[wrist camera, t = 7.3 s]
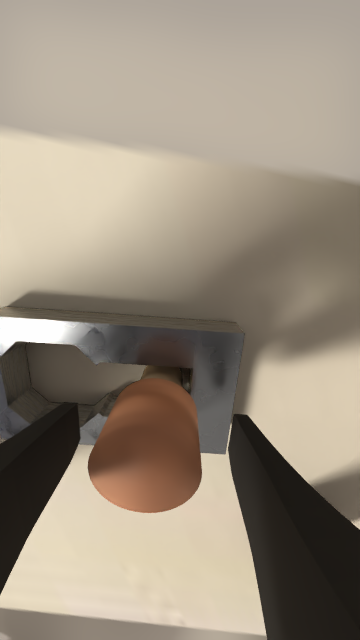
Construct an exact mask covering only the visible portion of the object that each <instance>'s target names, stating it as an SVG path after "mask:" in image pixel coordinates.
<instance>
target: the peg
mask: <svg viewBox="0 0 360 640" xmlns="http://www.w3.org/2000/svg"><path fill="white" fill-rule="evenodd" d="M88 472H89V476H90V479H91V481H92V483H93V485H94V487H95V488H96V490H97V491H98V492H99V493H100V494H101V495H102V496H103V497H104V498H106V499H107V500H108V501H110V502H111V503H113V504H115V505H117V506H119V507H121V508H124V509H127V510H131V511H135V512H142V513H156V512H163V511H167V510H171V509H173V508H176V507H178V506H180V505H182V504H183V503H185V502H186V501H187V500H189V499H190V498H191V497H192V496H193V495H194V494H195V492H196V491H197V489H198V487H199V485H200V482H201V477H202V468H201V455H200V443H199V430H198V418H197V409H196V405H195V402H194V400H193V399H192V397H191V396H190V394H189V393H188V392H187V391H186V390H185V389H184V388H182V373H181V371H180V369H179V368H178V367H167V366H153V365H147V367H146V368H145V370H144V372H143V375H142V378H141V380H139V381H136V382H134V383H132V384H130V385H129V386H127V387H126V388H125V389H124V390H123V391H122V392H121V393H120V394H119V396H118V398H117V400H116V402H115V404H114V406H113V408H112V410H111V412H110V414H109V416H108V418H107V420H106V422H105V424H104V426H103V429H102V431H101V433H100V435H99V437H98V439H97V441H96V443H95V445H94V447H93V449H92V451H91V454H90V456H89V461H88Z"/></svg>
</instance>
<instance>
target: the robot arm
mask: <svg viewBox="0 0 360 640" xmlns="http://www.w3.org/2000/svg"><path fill="white" fill-rule="evenodd" d="M80 439H81V437H80V425H79V413H78V403H68V402H64V403H63V404H61V405H59V406H58V407H56V408H55V409H53V410H52V411H50V412H49V413H47V414H46V415H44V416H43V417H41V418H40V419H38V420H37V421H35V422H34V423H32V424H31V425H29V426H28V427H26V428H25V429H23V430H22V431H20V432H19V433H17V434H16V435H14V436H13V437H11V438H9V439H8V440H6V441H5V442H3V443H1V444H0V594H1V592H2V590H3V588H4V586H5V584H6V581H7V579H8V577H9V575H10V573H11V571H12V569H13V567H14V565H15V563H16V561H17V559H18V557H19V554H20V552H21V550H22V548H23V546H24V544H25V542H26V540H27V538H28V536H29V535H30V533H31V531H32V529H33V527H34V525H35V523H36V522H37V520H38V518H39V517H40V515H41V513H42V511H43V510H44V508H45V506H46V504H47V503H48V501H49V499H50V497H51V496H52V494H53V492H54V491H55V489H56V487H57V485H58V484H59V482H60V480H61V478H62V477H63V475H64V473H65V471H66V470H67V468H68V466H69V464H70V462H71V460H72V458H73V456H74V453H75V451H76V449H77V446H78V444H79V442H80ZM228 452H229V459H230V465H231V472H232V477H233V481H234V485H235V489H236V492H237V496H238V500H239V504H240V508H241V512H242V516H243V519H244V523H245V527H246V531H247V535H248V539H249V543H250V547H251V552H252V556H253V561H254V567H255V572H256V578H257V583H258V588H259V594H260V600H261V605H262V611H263V617H264V623H265V628H266V634H267V640H360V530H359V529H358V528H357V527H356V526H355V525H353V524H352V523H351V522H350V521H349V520H347V519H346V518H345V517H344V516H343V515H342V514H341V513H339V512H338V511H337V510H336V509H335V508H334V507H333V506H332V505H331V504H330V503H328V502H327V501H326V500H325V499H324V498H323V497H322V496H321V495H320V494H319V493H318V492H317V491H316V490H314V489H313V488H312V487H311V486H310V485H309V484H308V483H307V482H306V481H305V480H304V479H303V478H302V477H301V476H300V475H299V474H298V472H297V471H296V470H295V469H294V468H293V467H292V466H291V465H290V464H289V463H288V462H287V461H286V460H285V459H284V458H283V457H282V455H281V454H280V453H279V452H278V451H277V450H276V449H275V447H274V446H273V445H272V444H271V443H270V442H269V440H268V439H267V438H266V437H265V436H264V435H263V433H262V432H261V431H260V430H259V429H258V427H257V426H256V425H255V424H254V422H253V421H252V420H251V419H250V418H249V416H248V415H242V414H234V416H233V422H232V428H231V435H230V441H229V447H228Z"/></svg>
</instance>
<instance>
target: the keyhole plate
mask: <svg viewBox="0 0 360 640" xmlns="http://www.w3.org/2000/svg"><path fill="white" fill-rule="evenodd" d="M244 335H245V333H244V332H243V331H242V329H241V328H240V327H239V326H238V325H237V323H236V322H223V321H208V320H194V319H179V318H164V317H150V316H135V315H121V314H106V313H92V312H77V311H63V310H48V309H33V308H19V307H3V308H0V435H1V439H9V438H11V437H13V436H14V435H16V434H17V433H19V432H20V431H22V430H23V429H25V428H26V427H28V426H29V425H31V424H32V423H34V422H35V421H37V420H38V419H40V418H41V417H43V416H44V415H46V414H47V413H49V412H50V411H52V410H53V409H55V408H56V407H58V406H59V405H61V404H63V403H52V402H49V401H47V400H46V399H45V398H44V397H43V396H41V395H40V394H39V393H38V392H37V391H35V390H34V389H33V388H32V387H31V382H30V375H29V368H28V362H27V355H26V348H25V344H26V343H27V342H39V343H53V344H68V345H75V346H76V347H77V348H78V349H79V350H80V351H82V352H83V353H84V354H85V355H86V356H87V357H88V358H89V359H90V360H91V361H92V362H93V363H94V364H96V365H98V364H99V363H100V362H109V363H124V364H138V365H153V366H167V367H182V368H190V379H189V390H188V393H189V394H190V396H191V397H192V399H193V400H194V402H195V405H196V409H197V418H198V430H199V443H200V453H213V454H226V448H227V441H228V435H229V429H230V423H231V416H232V410H233V404H234V398H235V392H236V385H237V379H238V373H239V367H240V360H241V354H242V348H243V342H244ZM117 398H118V396H113V395H112V394H111V393H109V394H108V395H107V396H105V397H104V398H103V399H102V400H101V401H99V402H98V403H97V404H96V405H81V404H78V413H79V425H80V437H81V439H80V442H79V444H83V445H95V443H96V441H97V439H98V437H99V435H100V433H101V431H102V429H103V426H104V424H105V422H106V420H107V418H108V416H109V414H110V412H111V410H112V408H113V406H114V404H115V402H116V400H117Z"/></svg>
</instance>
